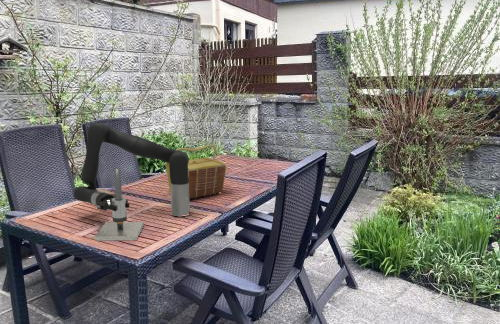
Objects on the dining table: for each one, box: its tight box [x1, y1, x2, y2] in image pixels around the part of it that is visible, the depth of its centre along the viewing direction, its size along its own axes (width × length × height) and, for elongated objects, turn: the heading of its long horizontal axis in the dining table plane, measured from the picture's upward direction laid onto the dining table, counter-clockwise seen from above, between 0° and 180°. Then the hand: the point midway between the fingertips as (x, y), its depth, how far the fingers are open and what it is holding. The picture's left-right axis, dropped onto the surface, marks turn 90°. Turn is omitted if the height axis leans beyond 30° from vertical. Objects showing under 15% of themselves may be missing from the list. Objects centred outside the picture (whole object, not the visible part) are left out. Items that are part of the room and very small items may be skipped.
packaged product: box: [96, 188, 116, 198], centre depth 247 cm, size 18×5×10 cm
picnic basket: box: [165, 144, 227, 200], centre depth 253 cm, size 29×26×30 cm
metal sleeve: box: [111, 196, 128, 218], centre depth 190 cm, size 6×6×8 cm
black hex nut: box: [112, 216, 128, 223], centre depth 191 cm, size 6×6×2 cm
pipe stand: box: [94, 168, 145, 242], centre depth 189 cm, size 18×18×30 cm
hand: (122, 207), depth 188 cm, fingers closed on metal sleeve, 5 cm apart
